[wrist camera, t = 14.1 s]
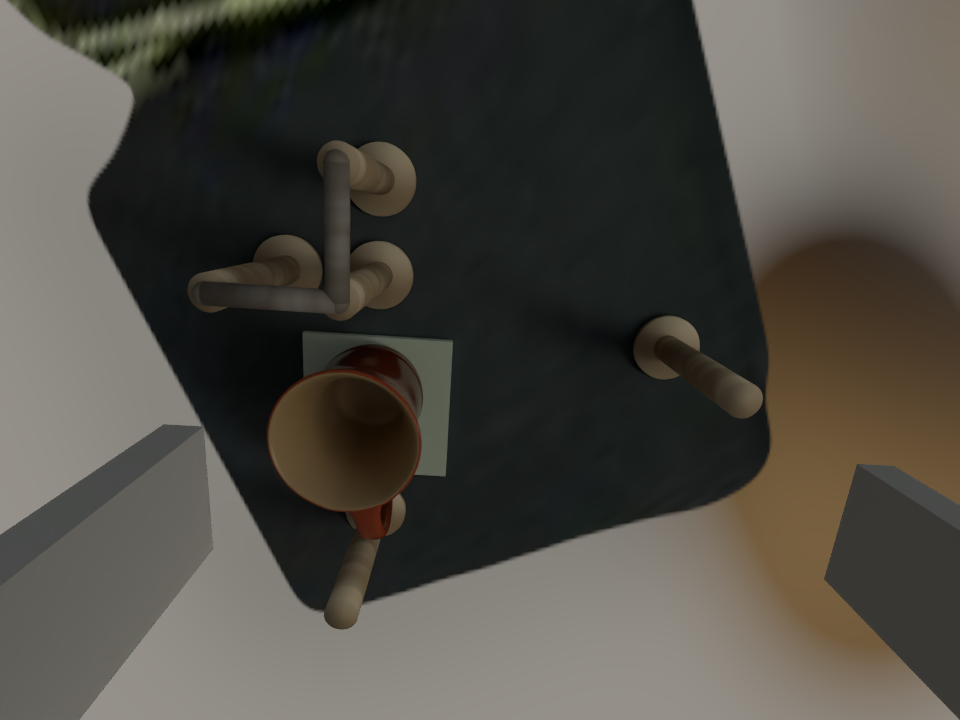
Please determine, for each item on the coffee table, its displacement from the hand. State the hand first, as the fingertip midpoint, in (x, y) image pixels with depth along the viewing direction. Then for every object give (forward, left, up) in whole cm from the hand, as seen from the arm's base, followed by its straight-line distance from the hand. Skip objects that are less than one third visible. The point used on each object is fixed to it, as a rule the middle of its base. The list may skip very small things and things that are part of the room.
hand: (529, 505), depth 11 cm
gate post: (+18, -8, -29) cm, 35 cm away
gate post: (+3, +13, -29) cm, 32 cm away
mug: (+9, -8, -28) cm, 31 cm away
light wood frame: (-4, -11, -29) cm, 31 cm away
